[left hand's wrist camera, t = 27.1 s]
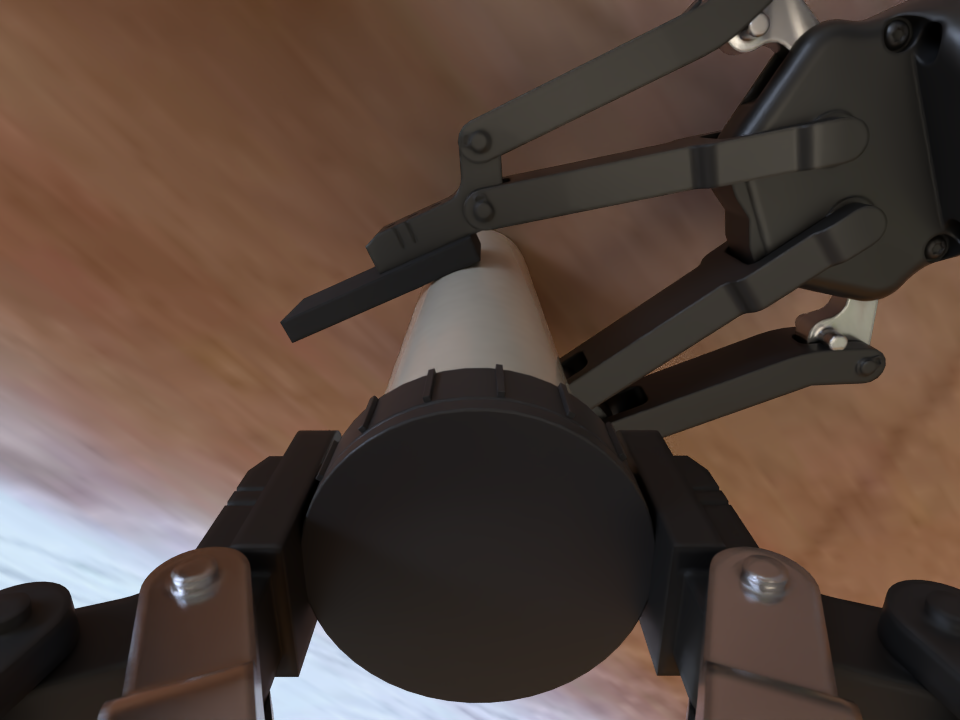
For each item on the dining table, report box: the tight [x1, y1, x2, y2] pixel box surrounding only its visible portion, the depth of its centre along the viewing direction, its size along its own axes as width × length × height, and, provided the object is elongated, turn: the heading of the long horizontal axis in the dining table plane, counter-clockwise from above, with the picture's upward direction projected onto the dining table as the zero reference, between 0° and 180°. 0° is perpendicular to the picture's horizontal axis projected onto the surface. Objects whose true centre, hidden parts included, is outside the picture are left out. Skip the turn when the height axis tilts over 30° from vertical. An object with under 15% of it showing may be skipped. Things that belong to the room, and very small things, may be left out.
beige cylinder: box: [385, 230, 572, 394], centre depth 19 cm, size 4×4×18 cm
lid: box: [301, 364, 655, 703], centre depth 10 cm, size 5×5×2 cm
